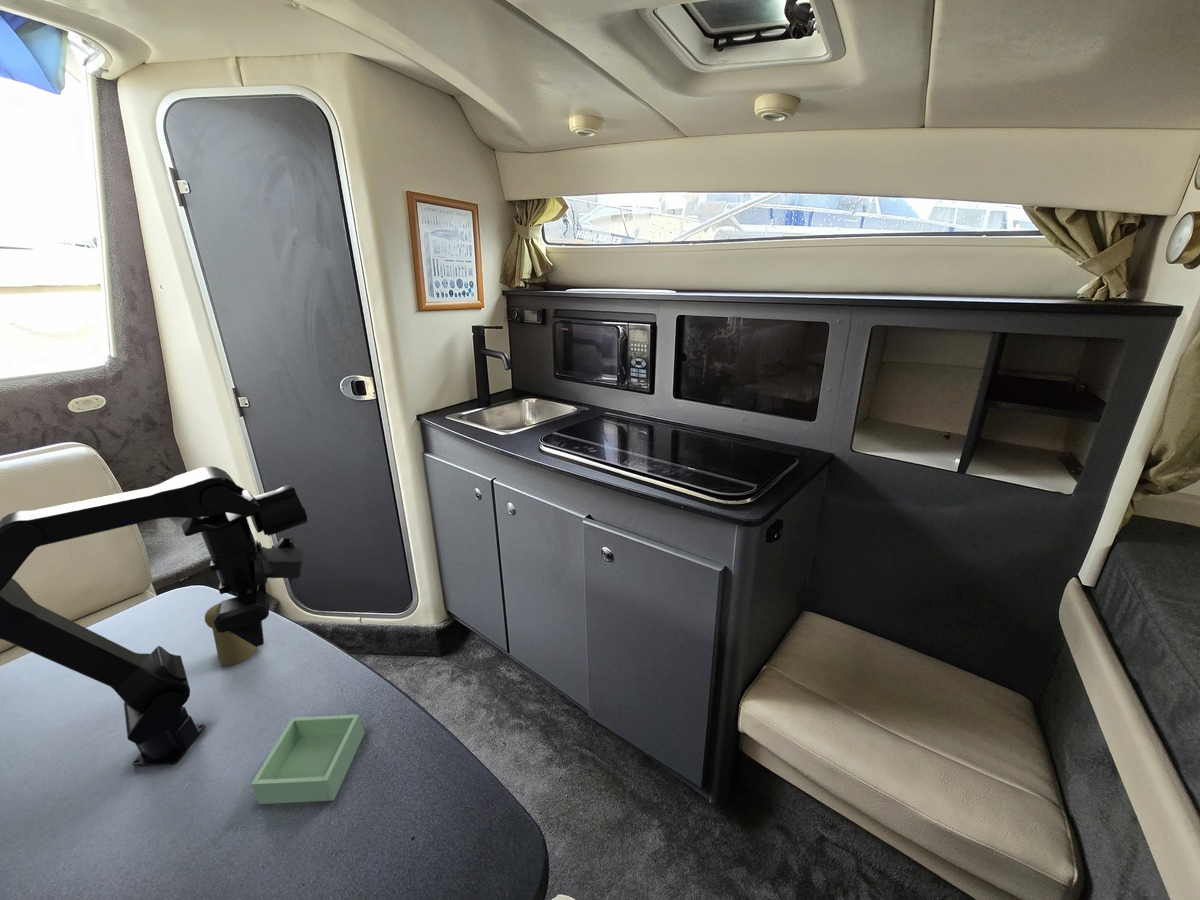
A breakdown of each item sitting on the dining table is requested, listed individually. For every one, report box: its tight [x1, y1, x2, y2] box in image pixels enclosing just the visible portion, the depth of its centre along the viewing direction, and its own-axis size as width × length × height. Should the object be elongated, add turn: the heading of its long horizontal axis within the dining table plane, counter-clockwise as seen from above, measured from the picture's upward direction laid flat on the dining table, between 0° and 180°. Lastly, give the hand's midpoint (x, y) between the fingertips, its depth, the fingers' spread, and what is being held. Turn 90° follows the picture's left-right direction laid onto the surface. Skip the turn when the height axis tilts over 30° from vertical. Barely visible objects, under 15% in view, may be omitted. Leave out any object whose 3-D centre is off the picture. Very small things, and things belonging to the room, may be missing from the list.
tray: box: [250, 714, 365, 805], centre depth 72 cm, size 10×10×4 cm
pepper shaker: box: [204, 602, 258, 667], centre depth 92 cm, size 6×6×11 cm
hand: (261, 627), depth 81 cm, fingers open, 9 cm apart
